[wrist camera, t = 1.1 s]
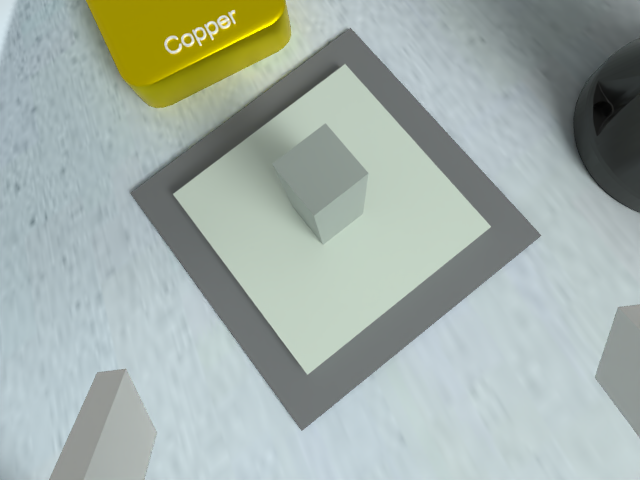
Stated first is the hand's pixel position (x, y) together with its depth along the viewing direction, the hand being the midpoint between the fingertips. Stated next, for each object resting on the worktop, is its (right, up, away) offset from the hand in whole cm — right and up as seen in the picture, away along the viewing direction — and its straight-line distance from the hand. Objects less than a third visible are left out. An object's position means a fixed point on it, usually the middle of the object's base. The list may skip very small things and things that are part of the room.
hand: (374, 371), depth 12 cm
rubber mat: (-1, +6, +25) cm, 26 cm away
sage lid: (-1, +6, +24) cm, 25 cm away
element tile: (-13, +25, +30) cm, 41 cm away
